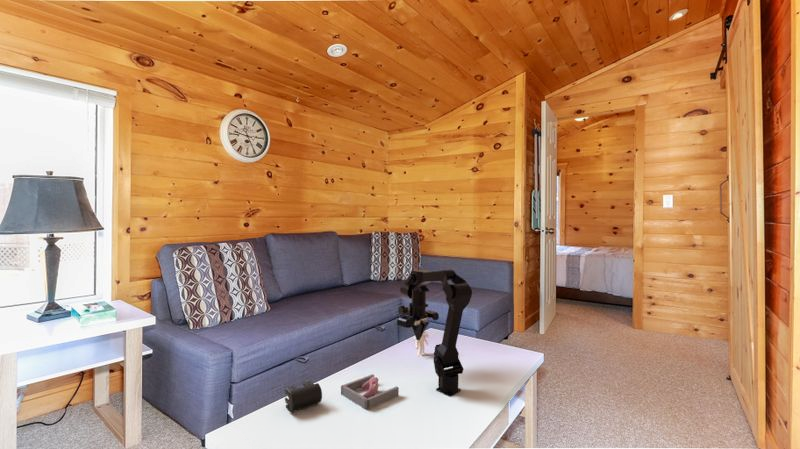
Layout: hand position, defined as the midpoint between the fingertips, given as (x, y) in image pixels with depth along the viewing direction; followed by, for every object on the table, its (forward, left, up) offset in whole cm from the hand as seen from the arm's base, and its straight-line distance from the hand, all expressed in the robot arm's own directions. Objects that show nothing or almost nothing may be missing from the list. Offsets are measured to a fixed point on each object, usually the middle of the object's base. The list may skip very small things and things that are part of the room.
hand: (418, 339), depth 153 cm
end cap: (+4, +49, -12) cm, 51 cm away
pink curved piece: (-4, +28, -12) cm, 31 cm away
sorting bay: (-4, +28, -12) cm, 31 cm away
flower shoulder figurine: (+10, -13, -12) cm, 20 cm away
